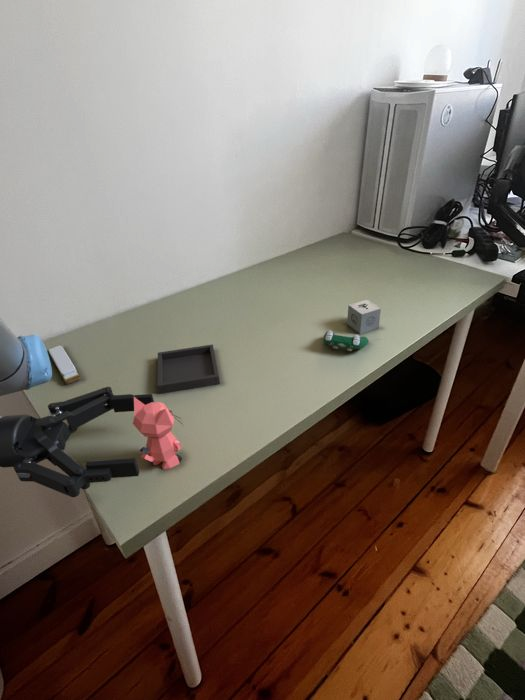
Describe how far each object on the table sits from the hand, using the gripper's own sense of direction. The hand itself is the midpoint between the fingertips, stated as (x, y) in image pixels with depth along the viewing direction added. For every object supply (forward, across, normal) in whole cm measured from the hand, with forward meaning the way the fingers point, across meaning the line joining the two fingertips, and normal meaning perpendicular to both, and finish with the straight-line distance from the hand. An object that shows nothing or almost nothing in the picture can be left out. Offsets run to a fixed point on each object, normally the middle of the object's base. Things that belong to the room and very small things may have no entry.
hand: (146, 431), depth 64 cm
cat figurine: (+2, 0, -7) cm, 7 cm away
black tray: (+3, -23, -6) cm, 24 cm away
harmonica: (-24, -28, -7) cm, 37 cm away
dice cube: (+42, -36, -7) cm, 56 cm away
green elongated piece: (+36, -28, -7) cm, 46 cm away
